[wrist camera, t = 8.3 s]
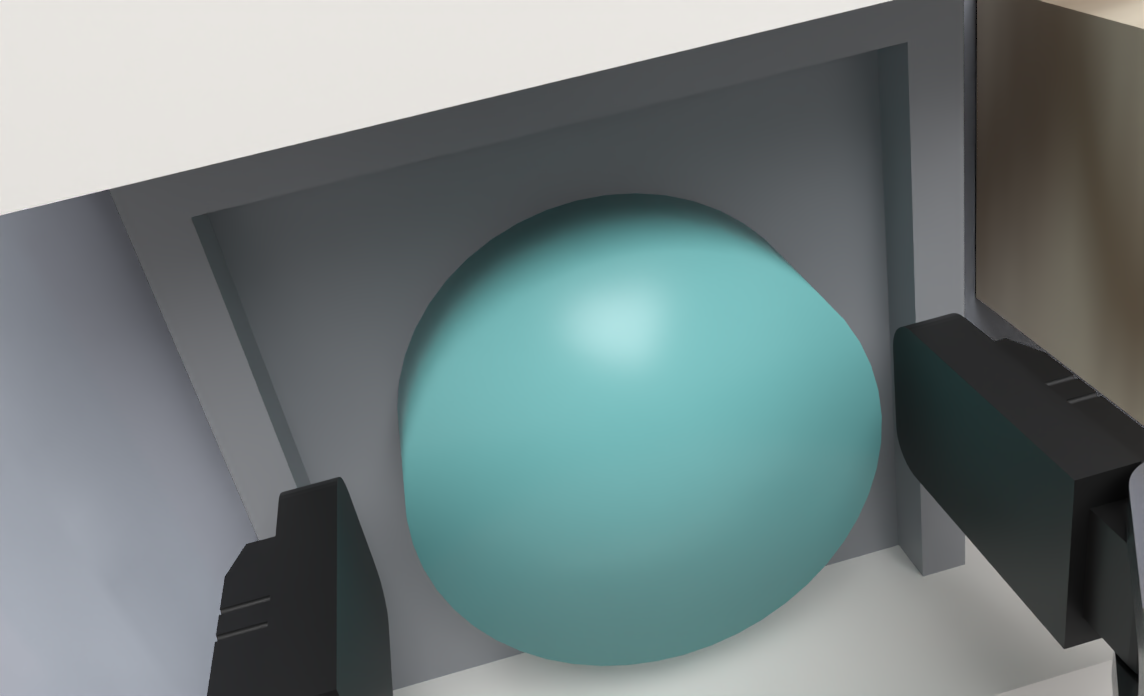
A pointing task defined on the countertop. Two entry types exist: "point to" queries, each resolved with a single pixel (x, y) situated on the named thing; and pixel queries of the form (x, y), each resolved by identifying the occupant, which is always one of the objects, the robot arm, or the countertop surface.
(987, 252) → the beige cube block
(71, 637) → the countertop surface
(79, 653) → the countertop surface
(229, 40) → the box
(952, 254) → the tray
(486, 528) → the teal shallow dome
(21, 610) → the countertop surface
